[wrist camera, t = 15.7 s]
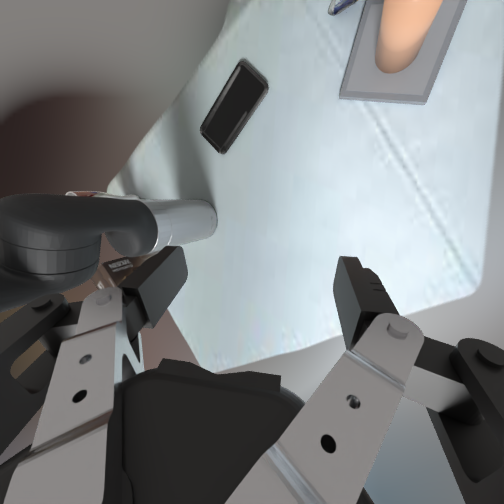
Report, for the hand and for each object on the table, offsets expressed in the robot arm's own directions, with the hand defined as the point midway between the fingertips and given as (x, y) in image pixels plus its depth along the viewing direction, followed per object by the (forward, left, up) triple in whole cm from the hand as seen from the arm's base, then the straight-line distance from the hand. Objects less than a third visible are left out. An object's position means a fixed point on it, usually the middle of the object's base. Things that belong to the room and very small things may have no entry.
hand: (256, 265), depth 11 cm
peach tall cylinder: (+3, +25, -31) cm, 40 cm away
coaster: (+3, +25, -33) cm, 41 cm away
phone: (-23, +16, -33) cm, 43 cm away
